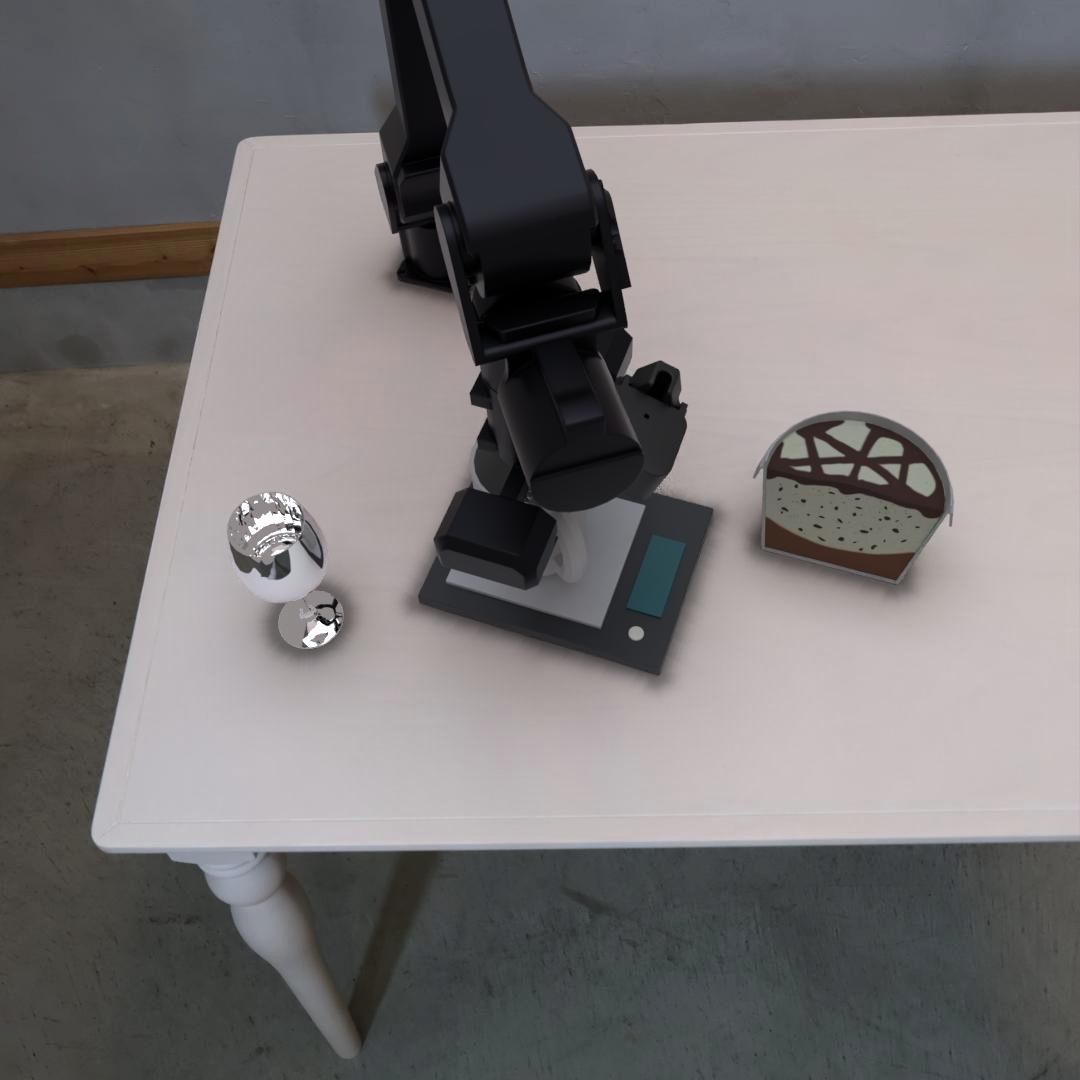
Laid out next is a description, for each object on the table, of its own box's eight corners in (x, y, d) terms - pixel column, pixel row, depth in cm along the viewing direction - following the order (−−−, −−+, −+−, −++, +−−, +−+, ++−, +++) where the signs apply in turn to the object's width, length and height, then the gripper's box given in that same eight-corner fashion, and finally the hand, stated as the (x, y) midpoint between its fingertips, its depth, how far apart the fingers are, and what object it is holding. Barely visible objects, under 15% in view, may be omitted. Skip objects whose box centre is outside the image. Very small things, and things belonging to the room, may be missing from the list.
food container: (935, 516, 78) (975, 429, 70) (920, 590, 75) (960, 508, 67) (760, 474, 81) (778, 384, 72) (739, 543, 78) (756, 458, 69)
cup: (553, 476, 80) (548, 396, 72) (629, 580, 75) (632, 506, 68) (464, 521, 78) (449, 444, 71) (536, 630, 74) (528, 561, 66)
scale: (419, 603, 77) (416, 593, 76) (488, 455, 83) (486, 444, 82) (659, 675, 73) (660, 666, 72) (712, 515, 79) (714, 504, 78)
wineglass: (286, 672, 74) (236, 582, 64) (257, 605, 77) (204, 508, 67) (366, 634, 76) (329, 540, 65) (334, 569, 78) (294, 469, 68)
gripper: (621, 539, 55) (618, 675, 68) (722, 273, 64) (702, 439, 77) (412, 481, 57) (448, 623, 71) (537, 232, 66) (548, 400, 80)
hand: (545, 517), depth 74 cm, fingers open, 9 cm apart
